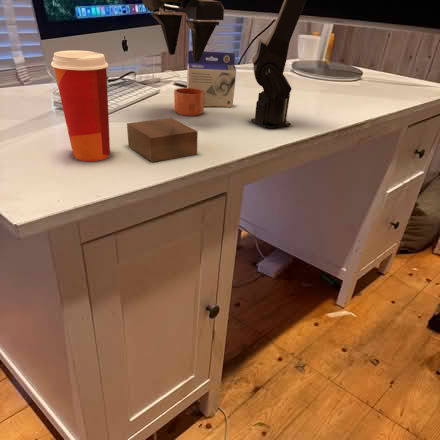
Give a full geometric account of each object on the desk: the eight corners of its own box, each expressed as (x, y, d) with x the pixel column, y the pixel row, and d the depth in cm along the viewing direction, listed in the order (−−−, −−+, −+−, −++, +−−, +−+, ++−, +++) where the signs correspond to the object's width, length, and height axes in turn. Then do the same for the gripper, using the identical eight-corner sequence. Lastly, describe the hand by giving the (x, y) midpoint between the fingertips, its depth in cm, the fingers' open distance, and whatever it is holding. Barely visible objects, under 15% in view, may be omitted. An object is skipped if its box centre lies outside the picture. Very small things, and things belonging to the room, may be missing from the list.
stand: (171, 139, 79) (171, 117, 77) (197, 154, 74) (197, 131, 71) (128, 146, 75) (126, 123, 73) (151, 162, 69) (150, 138, 67)
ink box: (187, 107, 99) (188, 52, 92) (186, 104, 101) (186, 50, 94) (234, 107, 102) (238, 53, 95) (232, 105, 103) (235, 52, 96)
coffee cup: (96, 143, 75) (85, 48, 66) (126, 155, 71) (118, 56, 62) (55, 154, 70) (36, 51, 61) (85, 167, 66) (70, 60, 57)
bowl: (193, 107, 99) (193, 87, 97) (209, 114, 95) (209, 93, 92) (169, 110, 96) (168, 89, 93) (184, 117, 92) (184, 95, 89)
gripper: (119, -44, 77) (126, 52, 86) (172, -43, 65) (174, 68, 75) (171, -40, 83) (172, 50, 92) (228, -38, 71) (223, 65, 81)
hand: (183, 58), depth 85 cm, fingers open, 9 cm apart
